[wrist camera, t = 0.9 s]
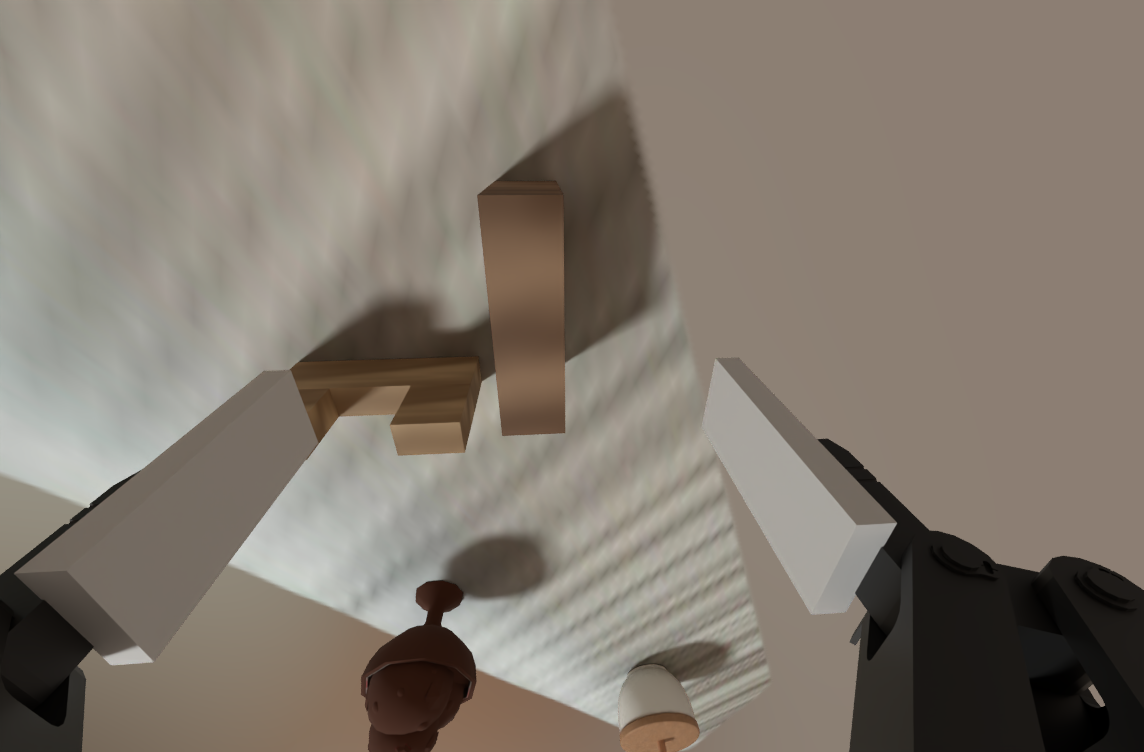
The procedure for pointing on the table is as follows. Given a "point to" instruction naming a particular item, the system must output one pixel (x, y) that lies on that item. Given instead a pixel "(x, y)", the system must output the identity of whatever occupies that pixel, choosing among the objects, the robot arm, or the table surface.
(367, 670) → the ice cream bowl
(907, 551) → the robot arm
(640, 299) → the table surface
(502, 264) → the walnut plate
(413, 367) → the oak board
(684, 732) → the lidded jar
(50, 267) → the table surface
